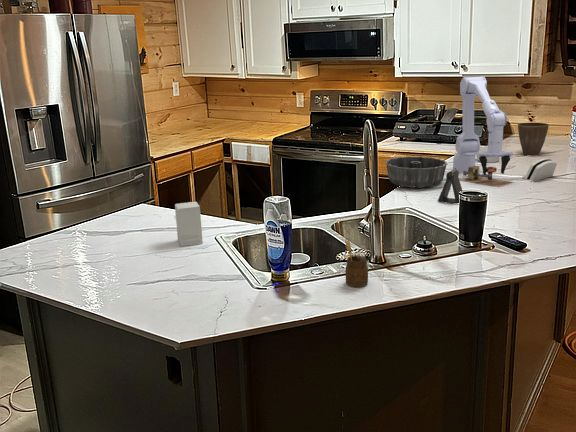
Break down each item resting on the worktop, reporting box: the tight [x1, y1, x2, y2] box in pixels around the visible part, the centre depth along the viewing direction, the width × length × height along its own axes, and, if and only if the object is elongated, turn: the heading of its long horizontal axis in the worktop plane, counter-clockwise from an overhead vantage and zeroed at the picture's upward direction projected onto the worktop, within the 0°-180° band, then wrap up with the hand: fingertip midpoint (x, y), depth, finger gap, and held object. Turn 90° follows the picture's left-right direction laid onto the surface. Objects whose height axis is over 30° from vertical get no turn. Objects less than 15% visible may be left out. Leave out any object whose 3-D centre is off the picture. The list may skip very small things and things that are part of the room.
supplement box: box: [174, 201, 204, 247], centre depth 199 cm, size 7×7×13 cm
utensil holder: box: [344, 237, 369, 288], centre depth 161 cm, size 6×6×12 cm
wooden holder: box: [465, 165, 481, 181], centre depth 268 cm, size 4×6×6 cm, turn 132°
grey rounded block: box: [521, 158, 558, 183], centre depth 269 cm, size 17×5×10 cm, turn 126°
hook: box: [462, 166, 498, 180], centre depth 266 cm, size 15×5×5 cm, turn 42°
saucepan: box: [476, 147, 500, 164], centre depth 312 cm, size 12×20×6 cm, turn 138°
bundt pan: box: [385, 155, 448, 189], centre depth 267 cm, size 26×26×10 cm
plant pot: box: [517, 121, 550, 156], centre depth 319 cm, size 15×15×16 cm
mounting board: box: [459, 176, 515, 188], centre depth 265 cm, size 20×12×1 cm, turn 42°
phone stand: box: [437, 169, 463, 204], centre depth 237 cm, size 9×6×12 cm, turn 57°
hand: (493, 173), depth 261 cm, fingers open, 7 cm apart
